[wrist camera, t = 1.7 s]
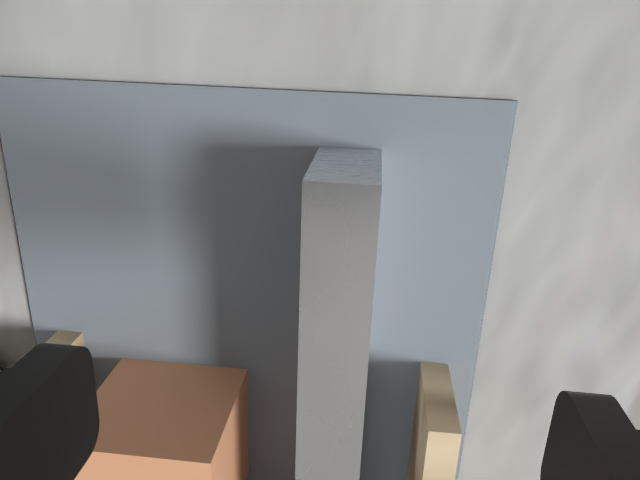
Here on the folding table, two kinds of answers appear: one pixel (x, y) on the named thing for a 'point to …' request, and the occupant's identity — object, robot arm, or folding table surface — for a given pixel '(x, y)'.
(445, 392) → the stall
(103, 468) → the block
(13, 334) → the folding table surface
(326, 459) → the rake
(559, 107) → the folding table surface
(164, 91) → the mat
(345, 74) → the folding table surface
